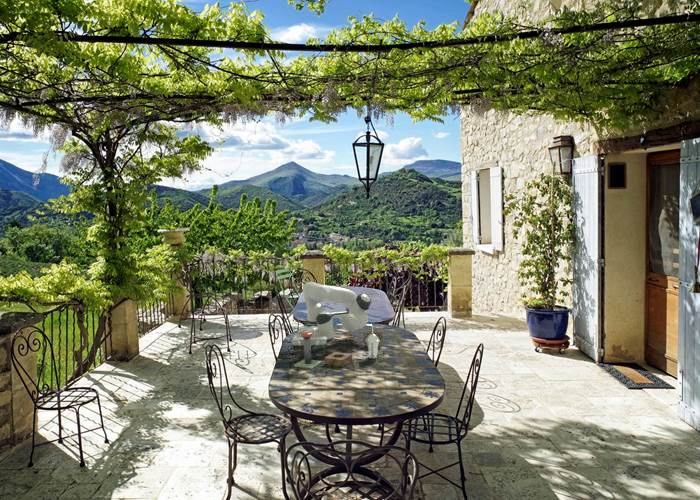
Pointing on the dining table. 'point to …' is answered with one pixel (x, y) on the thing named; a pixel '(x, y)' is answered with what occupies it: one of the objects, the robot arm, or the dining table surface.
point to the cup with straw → (372, 344)
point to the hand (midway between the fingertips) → (308, 344)
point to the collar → (338, 359)
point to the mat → (302, 364)
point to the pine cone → (379, 335)
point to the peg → (307, 346)
